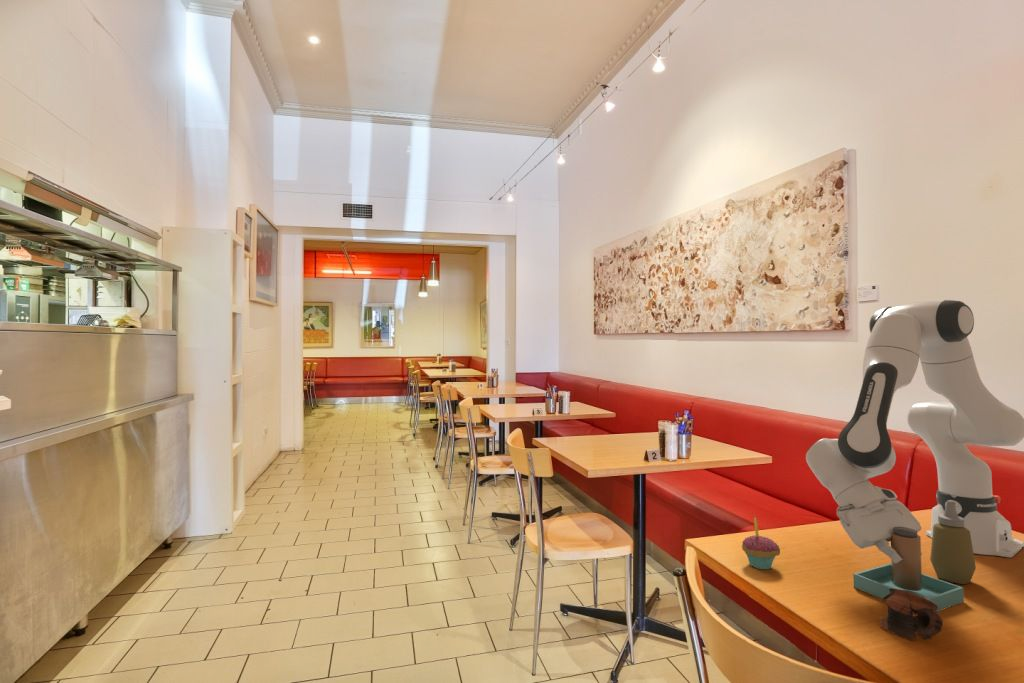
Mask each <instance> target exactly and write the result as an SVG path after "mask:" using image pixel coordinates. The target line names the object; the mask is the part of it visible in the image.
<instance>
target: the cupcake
mask: <svg viewBox="0 0 1024 683" xmlns="http://www.w3.org/2000/svg"><path fill="white" fill-rule="evenodd" d="M753 523H754V530H755V531H754V532H755V533H754V535H750V536H747V537H746V538H745V537H744V539H743V540H742V544H741V548H742V549H741V550H742V551H743V552H744V553H745V554H746V557H747V560H748V564H749V565H750V566H751V565H752V566H754V567H756V568H755V569H757V568H759V569H758V570H763V569H766V570H769V569H771V568H772V565H773V563H774V560H775V558H776V556H779V555H780V554H781V548H780V546H779V545H778V544H777V542H775V541H774V540H773V539H771V538H769V537H765V536H761V535H760V534H759V527H758V518H756V515H755V514H754V518H753ZM752 566H751V567H752ZM754 567H753V568H754Z"/></svg>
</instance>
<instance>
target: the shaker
mask: <svg viewBox="0 0 1024 683" xmlns="http://www.w3.org/2000/svg"><path fill="white" fill-rule="evenodd" d="M891 535H892V537H891V541H890V547H891V548H893V549H894V550H895V551H896V552H898V551H899V553H900V554H901V555H902V556H903V557H904V560H903V561H901V562H899V563H894V562H893V561H892V560H891V559H890V560H891V567H892V583H893V584H894V585H895V586H897V587H899V588H902V589H906V590H911V591H920V590H922V574H923V572H922V555H921V553H922V544H921V543H922V542H921V539H922V538H921V536H920V535H919V534H918V532H917V531H916V530H914V529H910V528H906V527H894V528H893V533H891Z"/></svg>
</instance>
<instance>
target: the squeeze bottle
mask: <svg viewBox="0 0 1024 683" xmlns="http://www.w3.org/2000/svg"><path fill="white" fill-rule="evenodd" d="M938 522H939V523H936V524H934V526H933V535H932V538H931V546H930V547H931V548H930V558H929V559H930V560H929V561H930V562H931V565H932V568H933V570H934V573H935V575H936V576H937V577H938V579H939V578H940V580H942V581H945V582H948V583H952V584H953V583H955V584H960V585H961V584H962V585H966V584H969V583H971V580H972V578H973V576H974V573H975V572H976V569H977V568H976V567H977V566H976V560H975V553H973V547H972V541H971V535H970V531H969V530H968V529H967V528H965V527H964V519H963V518H962V517H959V516H958V514H957V511H956V508H955V505H954V502H953V501H947V503H946V507H945V511H944V514H940V515H938Z"/></svg>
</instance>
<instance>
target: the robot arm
mask: <svg viewBox="0 0 1024 683" xmlns="http://www.w3.org/2000/svg"><path fill="white" fill-rule="evenodd" d="M974 325H975V318H974V314H973V311H972V309H971V307H969V306H968V305H967V304H966V303H964V302H963V301H961V300H955V299H954V300H953V299H952V300H951V299H949V300H948V299H945V300H943V301H938V300H937V301H920V302H919V301H918V302H914V303H908V304H907V303H906V304H902V305H901V304H900V305H897V306H886V307H883V308H881V309H878V310H876V311H875V312H874V313H873V314H872V316H871V317H870V318H869V325H868V327H869V332H870V335H869V337H868V340H867V343H866V347H865V350H864V355H863V356H864V357H863V360H862V361H863V363H862V384H861V389H860V393H859V396H858V398H857V399H858V400H857V402H856V406H855V409H854V412H853V414H852V417H851V419H850V420H849V421H848V423H847V424H846V425H845V426H844V427H843V428H842V429H841V431H840V433H839V435H838V438H827V437H823V438H821V439H819V440H816V441H815V442H814V443H813V444H812V445H811V446H809V448H808V450H807V451H806V453H805V460H806V463H807V465H808V467H809V468H810V470H811V472H812V473H813V474H814V476H815V477H816V478H817V480H818V481H819V482H820V484H821V485H822V486H823V487H824V488H826V489H827V490H828V491H829V492H830V494H831V495H832V498H833V499H834V501H835V502H836V503H837V505H838V506H837V508H836V516H837V517H838V518H839V521H840V525H841V527H842V528H843V530H844V531H845V533H846V534H847V535H848V538H850V540H851V541H852V543H853V544H854V545H855V546H856V547H858V548H859V549H865V548H869V547H873V546H875V547H876V548H877V550H878V551H881V552H882V553H883V554H884V555H886V556H887V557H889V558H890V560H892V561H893V562H894V563H899V562H901V561H903V560H904V557H903V556H902V555H901V554H900V553H899V551H898V552H896V551H895V550H894V549H893V548H891V545H890V542H891V537H892V535H891V533H893V528H894V527H906V528H910V529H914V530H916V531H917V533H918V532H920V531H921V530H922V526H921V523H920V522H919V520H918V519H917V518H916V517H915V516H914V515H913V513H912V511H910V510H909V509H908V508H907V506H906V505H905V504H903V503H902V502H901V501H900V500H898V495H897V494H896V492H895V491H893V490H892V489H887V488H882V487H880V486H877V485H873V484H872V483H871V482H870V480H869V479H872V478H876V477H879V476H881V475H883V474H886V473H888V472H890V471H892V469H893V468H894V467H895V465H896V462H897V454H896V451H895V448H894V447H893V444H892V442H891V437H890V434H889V431H888V428H887V426H888V425H887V423H888V419H889V414H890V411H891V407H892V406H891V405H892V403H893V400H894V399H893V398H894V396H895V393H896V391H897V390H900V389H902V388H905V387H907V386H908V385H910V384H911V382H912V380H913V378H914V377H915V375H916V373H917V372H916V371H917V369H918V366H919V361H920V365H921V368H922V372H923V376H924V380H925V383H926V385H927V386H928V388H929V389H930V390H931V391H933V392H935V393H936V394H938V395H940V396H941V397H944V398H946V400H948V401H942V400H941V401H940V400H931V401H930V400H929V401H921V402H917V403H914V404H913V405H911V407H910V409H909V410H908V412H907V415H906V416H907V419H906V420H907V424H908V426H909V428H910V430H911V431H912V432H913V433H914V434H915V435H917V436H918V437H919V438H921V439H922V441H923V442H924V443H925V444H926V446H928V448H929V449H930V451H931V453H932V455H933V457H934V461H935V463H936V470H937V471H936V472H937V482H938V483H937V484H938V489H936V494H935V496H936V502H937V504H936V505H935V506H934V507H932V510H931V521H930V522H931V524H930V530H926V532H925V535H926V536H928V537H930V538H931V539H932V535H933V526H934V524H936V523H939V522H938V515H940V514H944V511H945V507H946V503H947V501H953V502H954V505H955V508H956V511H957V514H958V516H959V517H962V518H963V519H964V527H965V528H967V529H968V530H969V531H970V535H971V541H972V547H973V553H974V555H975V554H976V555H986V556H997V557H998V556H999V557H1003V558H1013V557H1014V556H1015V555H1016V554H1018V552H1019V551H1021V549H1023V548H1024V541H1022V540H1019V539H1017V538H1014V537H1013V535H1012V534H1013V533H1012V532H1013V531H1012V524H1011V523H1010V521H1009V520H1007V519H1006V518H1005V517H1004V516H1003V515H1002V514H1001V513H1000V512H999V511H997V510H998V506H997V504H1000V503H1001V500H1002V499H1001V496H1000V495H994V494H993V479H992V478H993V475H992V473H993V472H992V469H991V468H990V466H989V464H988V463H986V461H984V460H982V459H981V458H979V457H977V456H975V455H974V454H973V453H972V452H971V451H970V450H969V447H968V446H967V444H971V445H978V446H986V447H1012V446H1016V445H1018V444H1019V443H1020V442H1021V441H1023V439H1024V417H1023V415H1022V414H1021V413H1019V411H1017V409H1015V408H1012V407H1010V406H1008V405H1006V404H1005V403H1003V402H1002V401H1000V400H999V399H998V398H997V397H995V395H993V393H991V391H990V390H989V389H988V388H987V387H986V386H985V384H984V383H983V381H982V379H981V377H980V374H979V371H978V368H977V364H976V362H975V361H976V360H975V357H974V354H973V350H972V347H971V346H972V345H971V343H970V340H969V338H968V337H969V336H970V335H971V333H972V332H973V330H974ZM1022 547H1023V548H1022ZM922 555H923V552H921V556H922Z"/></svg>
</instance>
